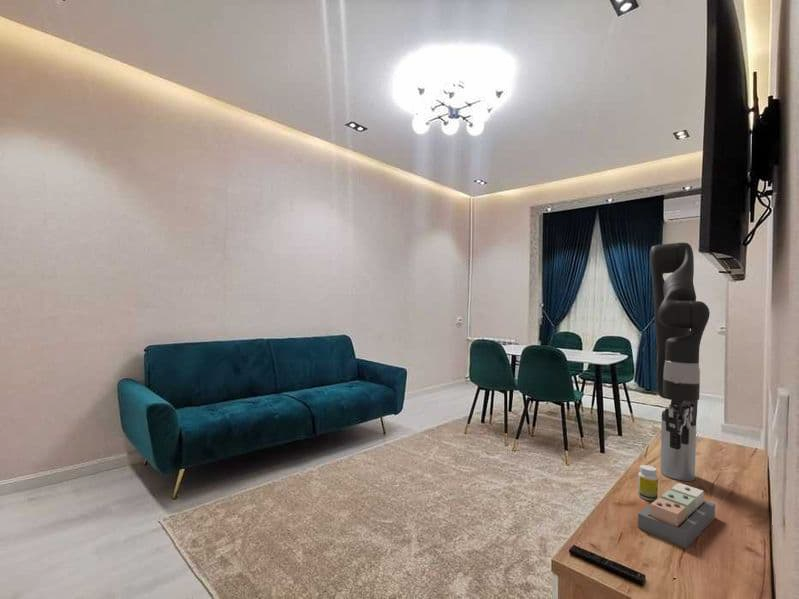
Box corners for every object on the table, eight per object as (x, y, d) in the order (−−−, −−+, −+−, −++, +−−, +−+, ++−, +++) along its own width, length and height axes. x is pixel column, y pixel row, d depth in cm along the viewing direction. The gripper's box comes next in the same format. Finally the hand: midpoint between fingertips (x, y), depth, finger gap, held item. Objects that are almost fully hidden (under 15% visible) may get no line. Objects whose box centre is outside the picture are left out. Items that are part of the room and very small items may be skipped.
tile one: (678, 493, 108) (678, 481, 108) (703, 502, 104) (703, 489, 104) (671, 499, 105) (671, 487, 105) (696, 508, 100) (696, 495, 100)
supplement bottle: (660, 502, 110) (661, 472, 110) (641, 500, 111) (642, 470, 111) (652, 494, 115) (653, 465, 115) (635, 492, 116) (635, 463, 116)
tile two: (669, 501, 104) (669, 488, 104) (694, 510, 99) (695, 497, 99) (661, 507, 100) (661, 494, 100) (687, 517, 96) (687, 503, 96)
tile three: (659, 509, 99) (659, 496, 100) (685, 519, 95) (685, 505, 95) (650, 516, 96) (650, 502, 96) (677, 527, 92) (677, 512, 92)
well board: (670, 501, 111) (670, 488, 111) (714, 517, 103) (715, 504, 103) (637, 527, 97) (638, 513, 97) (686, 548, 89) (686, 532, 89)
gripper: (674, 374, 107) (672, 436, 107) (653, 379, 98) (651, 447, 98) (708, 379, 101) (706, 444, 101) (689, 385, 93) (687, 457, 93)
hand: (679, 445), depth 100 cm, fingers open, 5 cm apart
